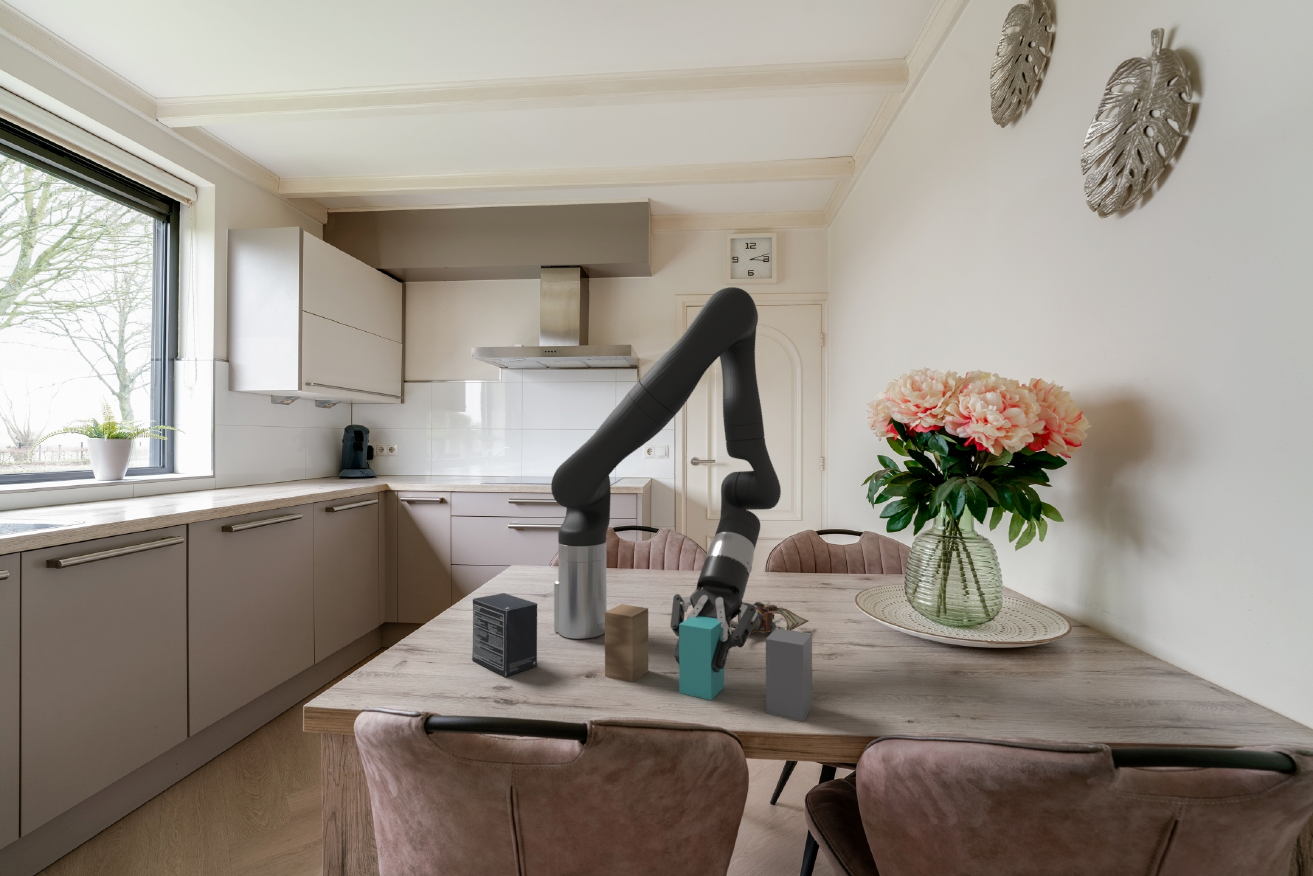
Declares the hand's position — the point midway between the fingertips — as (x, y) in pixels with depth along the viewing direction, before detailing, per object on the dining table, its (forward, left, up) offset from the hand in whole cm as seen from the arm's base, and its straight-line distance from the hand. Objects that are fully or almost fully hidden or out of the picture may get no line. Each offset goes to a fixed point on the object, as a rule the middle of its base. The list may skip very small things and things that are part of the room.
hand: (697, 665), depth 83 cm
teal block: (0, +2, -4) cm, 5 cm away
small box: (-33, -4, -4) cm, 34 cm away
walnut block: (-13, +2, -4) cm, 14 cm away
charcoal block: (+13, +2, -4) cm, 14 cm away
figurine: (0, +32, -5) cm, 32 cm away
